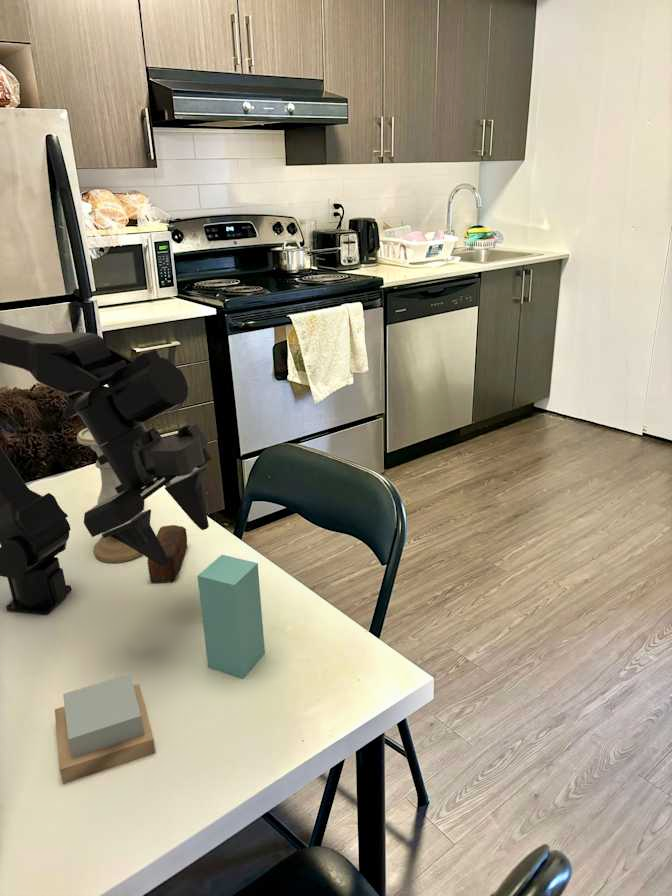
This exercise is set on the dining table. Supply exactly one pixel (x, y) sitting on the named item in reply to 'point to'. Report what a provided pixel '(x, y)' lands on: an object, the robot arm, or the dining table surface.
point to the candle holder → (108, 546)
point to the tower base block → (103, 757)
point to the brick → (169, 553)
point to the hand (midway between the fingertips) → (186, 546)
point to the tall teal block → (232, 615)
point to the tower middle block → (102, 715)
